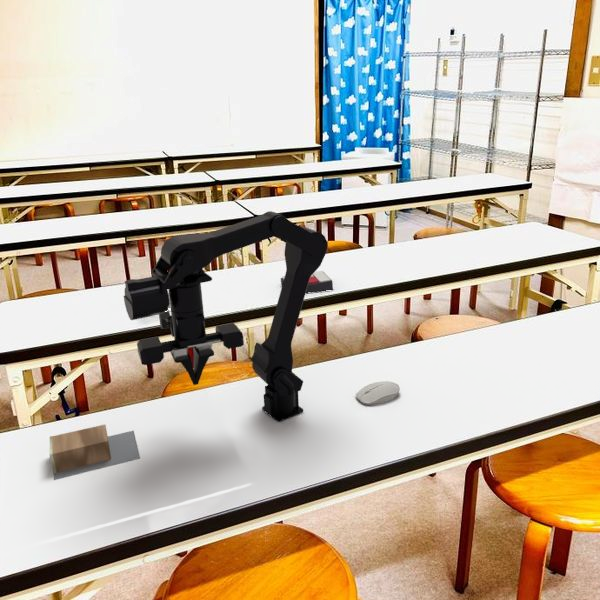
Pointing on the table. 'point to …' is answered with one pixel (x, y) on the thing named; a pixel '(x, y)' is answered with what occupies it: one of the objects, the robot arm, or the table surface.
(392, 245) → the table surface
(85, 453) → the walnut block
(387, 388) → the computer mouse
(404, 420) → the table surface
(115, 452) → the felt mat
